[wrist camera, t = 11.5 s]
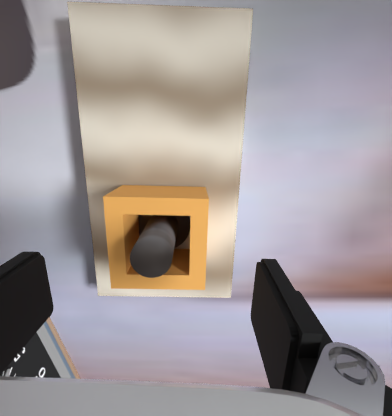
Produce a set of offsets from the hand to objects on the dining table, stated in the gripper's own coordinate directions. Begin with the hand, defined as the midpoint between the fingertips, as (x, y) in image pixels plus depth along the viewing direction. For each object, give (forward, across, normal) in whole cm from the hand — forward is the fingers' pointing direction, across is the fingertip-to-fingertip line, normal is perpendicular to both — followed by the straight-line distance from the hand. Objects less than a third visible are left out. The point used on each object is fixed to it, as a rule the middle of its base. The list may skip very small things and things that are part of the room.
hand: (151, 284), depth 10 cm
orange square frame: (+9, +1, +1) cm, 9 cm away
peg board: (+11, +1, -3) cm, 12 cm away
